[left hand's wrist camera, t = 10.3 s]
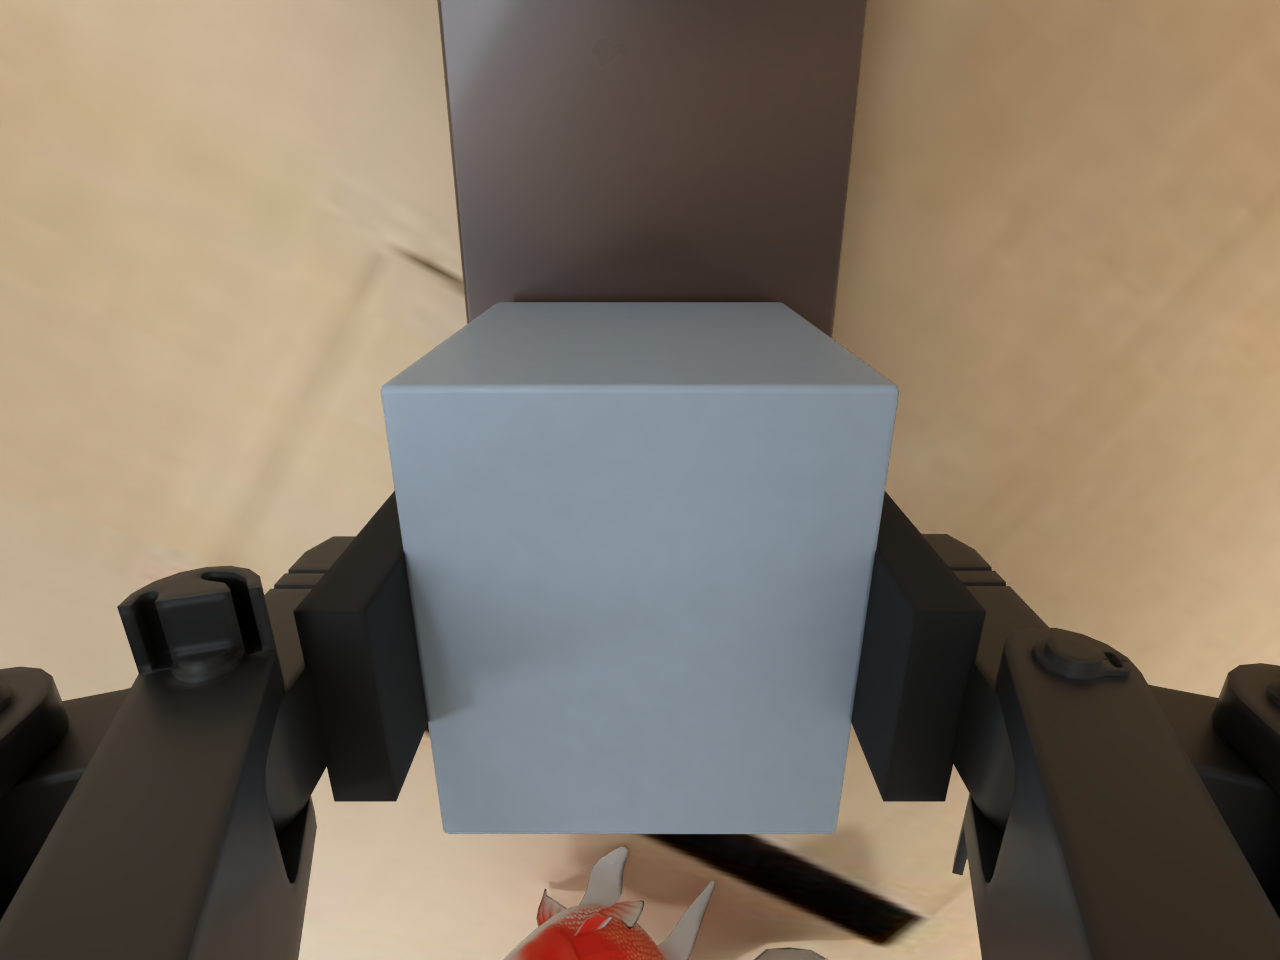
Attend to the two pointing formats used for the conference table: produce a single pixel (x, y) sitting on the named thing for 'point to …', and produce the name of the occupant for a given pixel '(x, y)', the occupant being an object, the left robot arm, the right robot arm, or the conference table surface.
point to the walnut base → (652, 149)
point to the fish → (617, 925)
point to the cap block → (639, 563)
